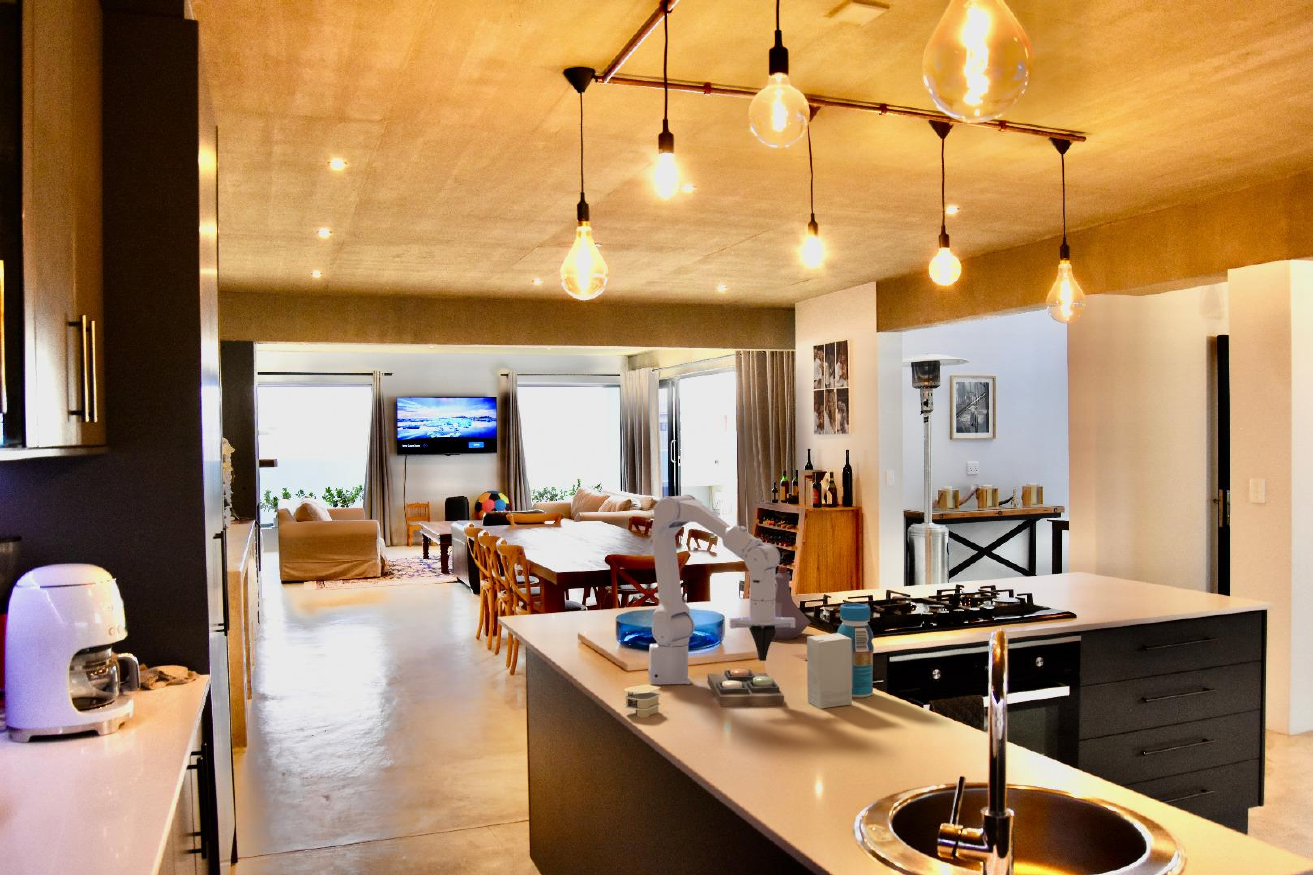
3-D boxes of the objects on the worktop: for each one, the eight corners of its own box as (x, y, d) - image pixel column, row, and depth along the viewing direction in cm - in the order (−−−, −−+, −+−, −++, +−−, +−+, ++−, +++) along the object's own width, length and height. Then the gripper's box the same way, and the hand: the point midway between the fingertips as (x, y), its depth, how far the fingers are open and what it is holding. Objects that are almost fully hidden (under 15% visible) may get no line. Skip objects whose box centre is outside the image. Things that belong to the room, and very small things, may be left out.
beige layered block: (641, 705, 214) (641, 680, 214) (673, 713, 208) (673, 687, 208) (610, 715, 206) (610, 689, 206) (642, 724, 200) (642, 697, 200)
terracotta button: (731, 678, 227) (731, 673, 227) (728, 674, 231) (728, 668, 231) (750, 678, 227) (750, 673, 227) (747, 673, 232) (747, 668, 232)
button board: (720, 705, 213) (720, 692, 213) (707, 682, 233) (707, 669, 233) (784, 704, 214) (784, 691, 214) (765, 681, 234) (765, 668, 234)
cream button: (723, 691, 216) (723, 685, 216) (720, 685, 220) (720, 680, 220) (743, 690, 216) (743, 685, 216) (740, 685, 221) (740, 680, 221)
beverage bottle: (830, 695, 222) (831, 606, 222) (841, 686, 229) (842, 601, 229) (867, 700, 218) (868, 610, 218) (877, 691, 225) (878, 604, 225)
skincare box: (838, 698, 219) (839, 632, 219) (853, 705, 213) (853, 637, 213) (805, 702, 216) (805, 634, 216) (819, 709, 211) (819, 640, 210)
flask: (822, 637, 284) (823, 568, 284) (779, 644, 275) (780, 572, 274) (784, 627, 297) (784, 561, 297) (742, 633, 288) (742, 565, 288)
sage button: (754, 686, 217) (755, 681, 217) (751, 681, 222) (751, 676, 222) (774, 686, 218) (774, 681, 218) (770, 681, 222) (770, 676, 222)
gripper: (733, 602, 215) (732, 664, 215) (798, 601, 216) (798, 663, 216) (728, 596, 222) (727, 657, 222) (791, 596, 223) (791, 656, 223)
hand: (762, 659), depth 219 cm, fingers closed
